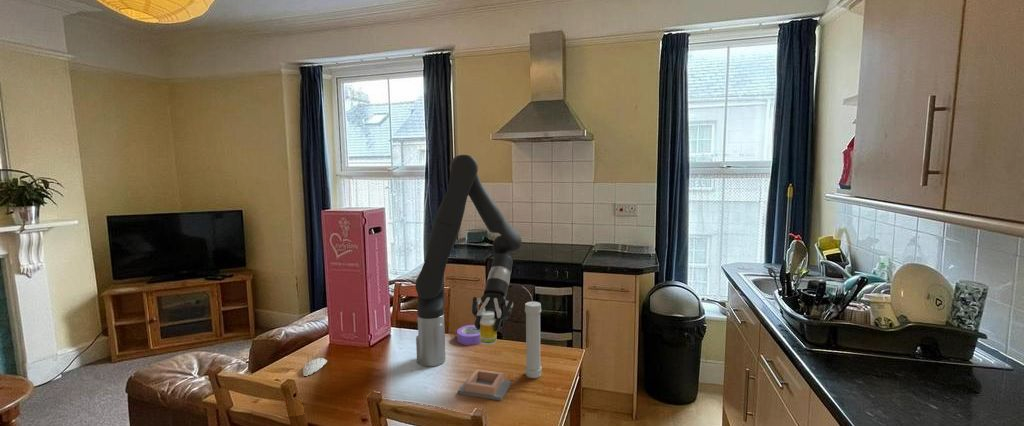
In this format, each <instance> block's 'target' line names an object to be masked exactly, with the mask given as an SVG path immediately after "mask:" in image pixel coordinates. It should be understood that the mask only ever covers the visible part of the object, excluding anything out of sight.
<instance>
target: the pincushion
mask: <svg viewBox="0 0 1024 426" xmlns="http://www.w3.org/2000/svg"><path fill="white" fill-rule="evenodd" d="M311 357H313V352H312V356H311ZM306 359H307V363H305V365H304V367H303V368H302V374H303V377H304V376H307V377H309V376H310V375H313V374H314V373H316V372H318V371H319V370H320V369H321V368H323V366H324V365H326V364H327V362H328V360H327V359H325V358H322V357H316V358H315V359H314V358H313V359H312V360H309V356H307V358H306ZM308 375H309V376H308Z"/></svg>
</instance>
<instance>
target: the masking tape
mask: <svg viewBox="0 0 1024 426" xmlns="http://www.w3.org/2000/svg"><path fill="white" fill-rule="evenodd" d="M456 337H457V338H456V340H457V342H458V343H460V344H462V345H465V346H466V345H467V346H473V345H474V346H475V345H480V344H482V343H481V342H480V329H479V330H477V329H476V327H475V324H468V325H467V324H466V325H464V326H461V327H460V328H458V329H457V331H456Z"/></svg>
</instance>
